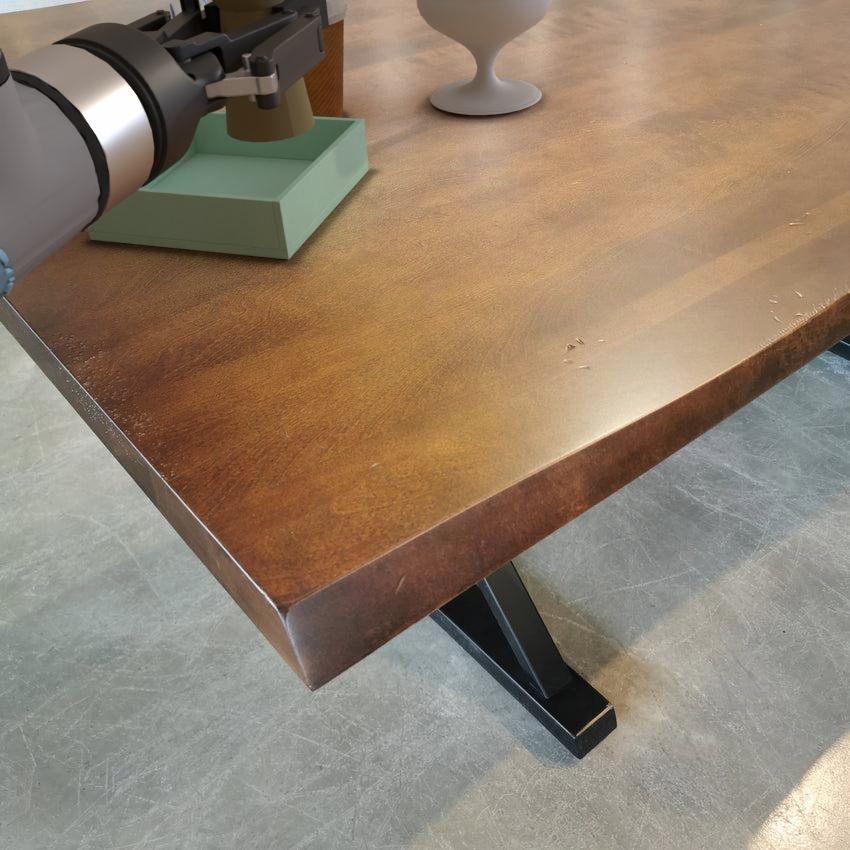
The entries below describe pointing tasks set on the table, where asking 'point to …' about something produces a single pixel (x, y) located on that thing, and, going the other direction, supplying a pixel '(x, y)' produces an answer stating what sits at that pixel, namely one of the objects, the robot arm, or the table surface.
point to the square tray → (243, 191)
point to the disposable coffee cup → (329, 67)
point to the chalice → (484, 51)
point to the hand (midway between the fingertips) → (289, 4)
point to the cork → (245, 121)
